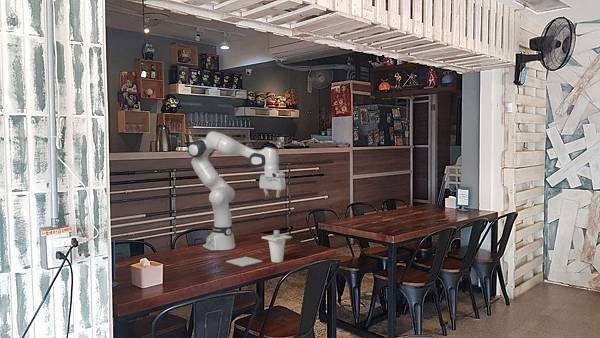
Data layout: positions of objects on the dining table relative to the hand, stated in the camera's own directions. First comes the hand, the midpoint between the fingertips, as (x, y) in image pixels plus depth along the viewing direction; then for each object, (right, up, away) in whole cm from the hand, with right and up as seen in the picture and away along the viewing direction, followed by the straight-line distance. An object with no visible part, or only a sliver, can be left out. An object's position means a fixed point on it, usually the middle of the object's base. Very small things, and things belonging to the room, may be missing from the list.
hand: (272, 196), depth 294 cm
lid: (+3, -22, -18) cm, 29 cm away
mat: (-15, -35, -18) cm, 42 cm away
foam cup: (+4, -35, -17) cm, 39 cm away
